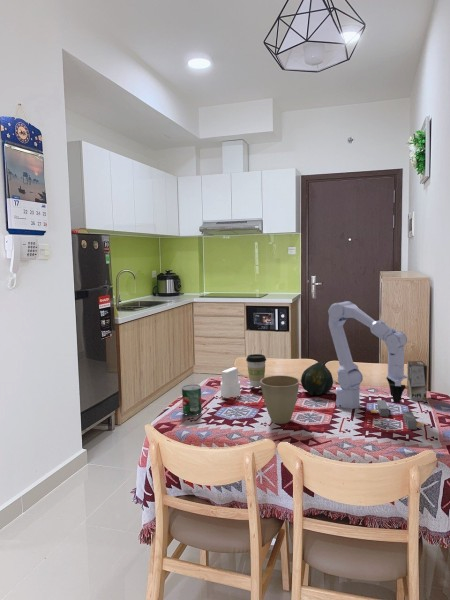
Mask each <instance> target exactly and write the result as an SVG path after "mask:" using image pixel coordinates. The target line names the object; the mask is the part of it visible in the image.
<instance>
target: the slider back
mask: <svg viewBox="0 0 450 600" xmlns="http://www.w3.org/2000/svg"><path fill="white" fill-rule="evenodd" d="M376 402H377V405H376V406H377V407H376V408H377V412H378V414H379V417H389V407H388V403H387V401H386V400H385V399H378V400H377V401H376Z"/></svg>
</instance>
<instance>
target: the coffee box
mask: <svg viewBox="0 0 450 600" xmlns="http://www.w3.org/2000/svg"><path fill="white" fill-rule="evenodd" d="M406 363H407V364H406V366H407V368H406V369H407V370H406V375H407V378H406V380H407V381H406V385H407V386H406V391H407V392H406V396H407V397H408V398H409V400H410V401H419V402H423V401H425V402H426V401H427V392H428V391H427V384H428V382H427V381H428V380H427V379H428V365H426V363H424V362H423V361H422V360H413V361H411V360H409V361H408V360H407V362H406Z"/></svg>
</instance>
